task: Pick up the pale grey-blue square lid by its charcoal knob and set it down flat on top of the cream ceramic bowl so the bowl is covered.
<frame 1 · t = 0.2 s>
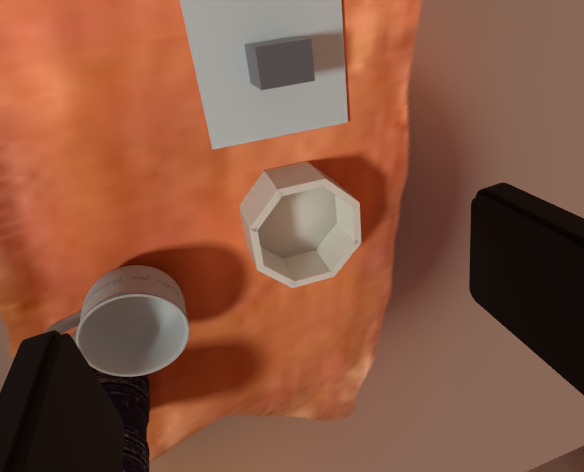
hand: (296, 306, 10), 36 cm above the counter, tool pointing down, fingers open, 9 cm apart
bowl: (292, 213, 49), on the counter
storage jar: (109, 387, 53), on the counter
teacup: (122, 293, 48), on the counter
lid: (270, 59, 42), on the counter
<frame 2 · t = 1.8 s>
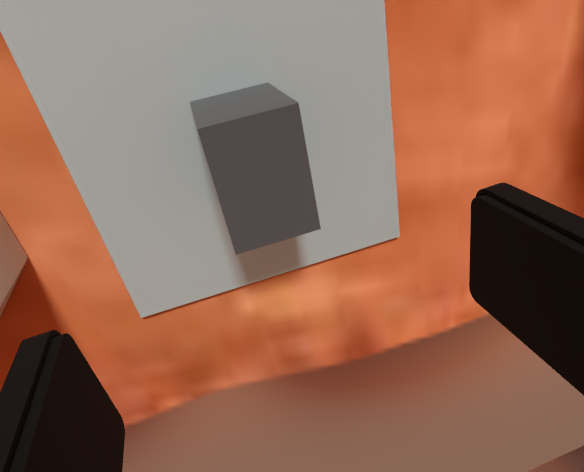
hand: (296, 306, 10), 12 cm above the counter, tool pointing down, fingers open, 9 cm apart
lid: (239, 141, 20), on the counter
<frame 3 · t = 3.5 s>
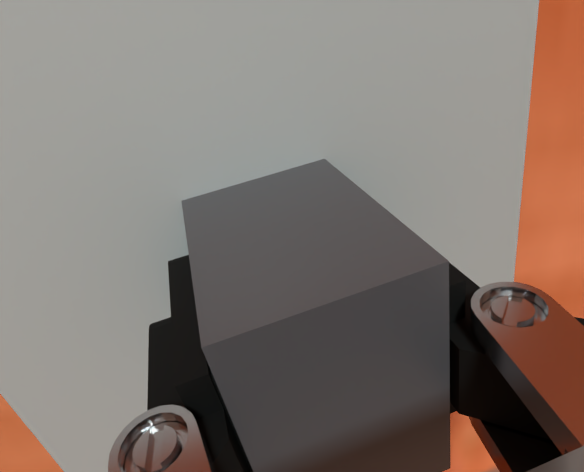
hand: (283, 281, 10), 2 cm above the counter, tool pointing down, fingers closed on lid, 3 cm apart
lid: (268, 248, 12), on the counter, touching gripper
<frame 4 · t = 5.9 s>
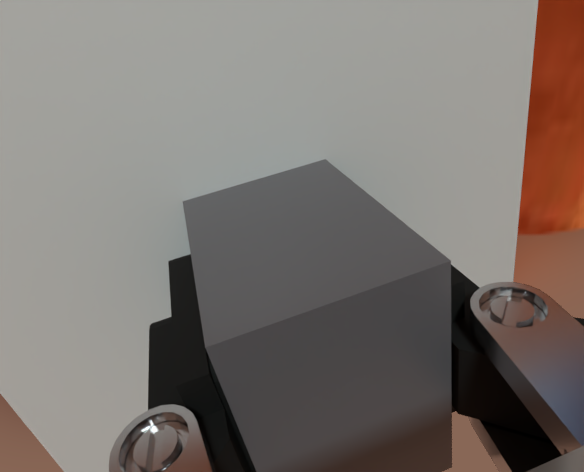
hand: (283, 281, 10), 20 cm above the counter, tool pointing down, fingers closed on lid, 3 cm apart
lid: (269, 248, 12), point 18 cm above the counter, touching gripper
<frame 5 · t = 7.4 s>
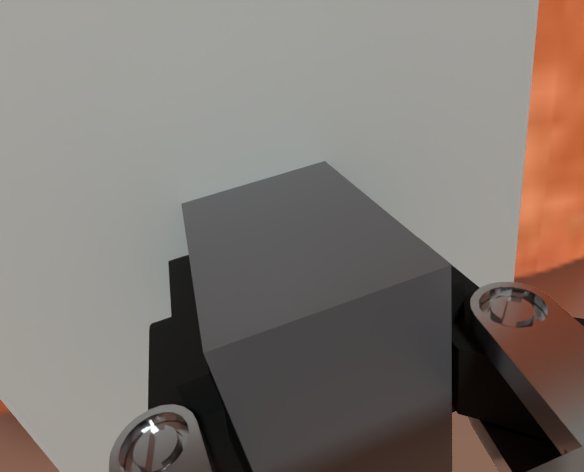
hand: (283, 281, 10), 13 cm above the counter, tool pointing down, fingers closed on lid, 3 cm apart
lid: (268, 250, 12), point 11 cm above the counter, touching gripper
when the fingers open (9 cm above the counter, at t = 8.4 s): lid drops 1 cm, resting on bowl.
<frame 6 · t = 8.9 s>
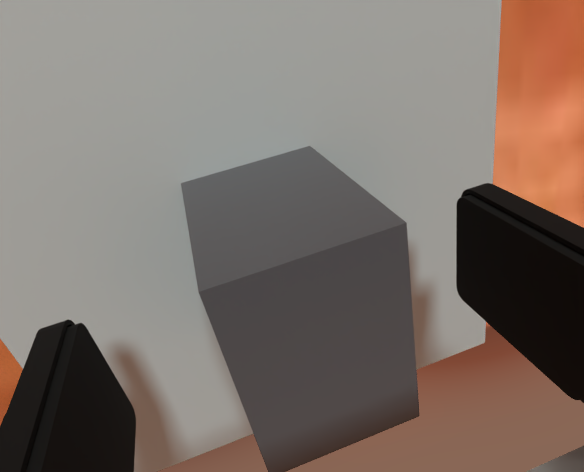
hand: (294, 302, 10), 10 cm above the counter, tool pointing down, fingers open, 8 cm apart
lid: (260, 229, 13), point 6 cm above the counter, touching bowl
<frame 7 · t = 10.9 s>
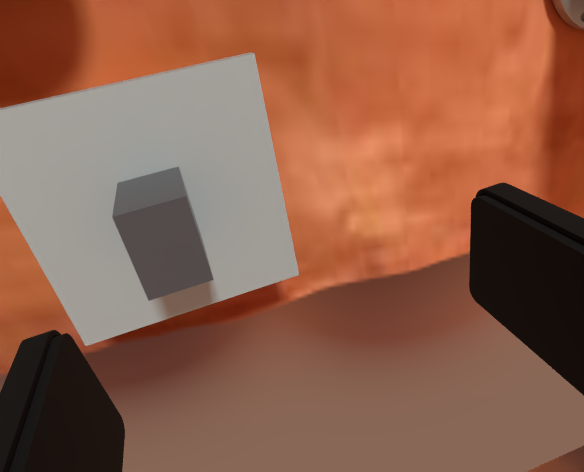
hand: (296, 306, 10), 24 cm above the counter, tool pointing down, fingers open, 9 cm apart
lid: (161, 206, 26), point 6 cm above the counter, touching bowl
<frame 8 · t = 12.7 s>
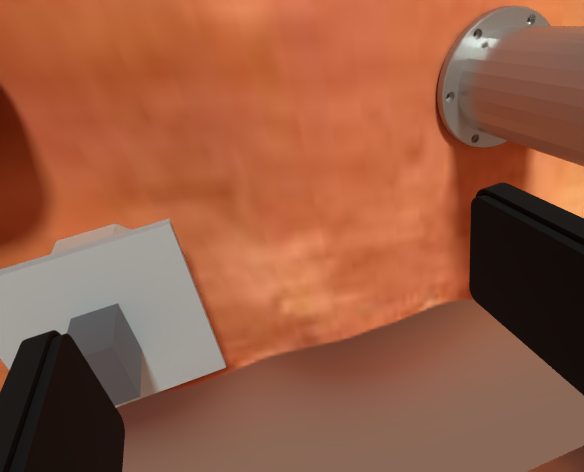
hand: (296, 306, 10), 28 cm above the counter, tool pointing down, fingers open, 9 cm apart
bowl: (114, 287, 39), on the counter
lid: (109, 327, 34), point 6 cm above the counter, touching bowl
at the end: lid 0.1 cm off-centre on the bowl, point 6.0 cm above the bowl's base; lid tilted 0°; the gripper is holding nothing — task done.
